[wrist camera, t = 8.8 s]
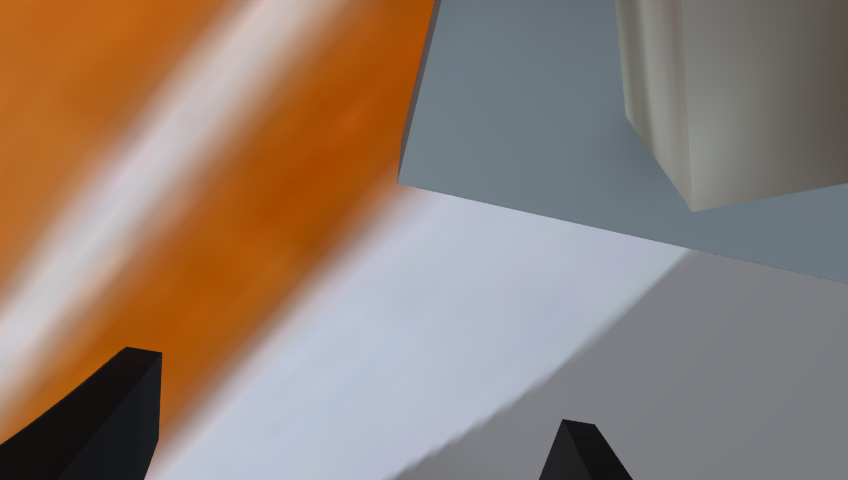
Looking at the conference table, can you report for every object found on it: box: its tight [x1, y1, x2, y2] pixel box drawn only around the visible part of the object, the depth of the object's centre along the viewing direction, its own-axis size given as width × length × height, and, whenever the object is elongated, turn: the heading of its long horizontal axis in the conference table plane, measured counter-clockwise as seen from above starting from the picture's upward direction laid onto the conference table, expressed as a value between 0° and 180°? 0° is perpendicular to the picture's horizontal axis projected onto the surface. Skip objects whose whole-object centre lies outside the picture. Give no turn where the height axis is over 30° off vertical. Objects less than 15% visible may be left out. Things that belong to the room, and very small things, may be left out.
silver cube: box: [615, 0, 848, 212], centre depth 13 cm, size 5×5×5 cm
